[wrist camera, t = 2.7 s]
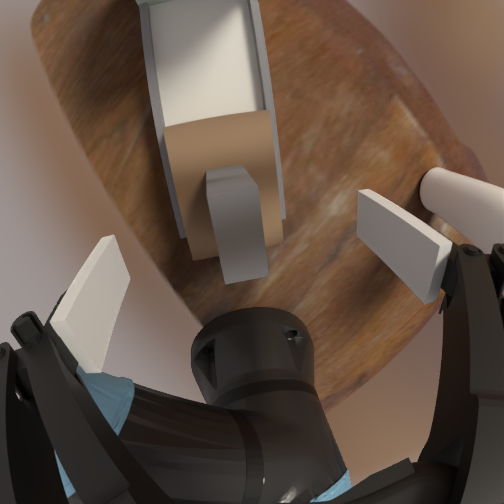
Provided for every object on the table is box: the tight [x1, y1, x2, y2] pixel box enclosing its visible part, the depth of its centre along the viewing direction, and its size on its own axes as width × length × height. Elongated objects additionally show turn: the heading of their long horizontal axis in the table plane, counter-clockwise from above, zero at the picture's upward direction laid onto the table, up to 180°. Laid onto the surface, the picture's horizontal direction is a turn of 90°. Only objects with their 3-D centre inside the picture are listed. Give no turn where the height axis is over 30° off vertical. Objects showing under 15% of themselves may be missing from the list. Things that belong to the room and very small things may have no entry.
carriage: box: [163, 110, 284, 285], centre depth 17 cm, size 10×7×9 cm
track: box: [139, 0, 286, 238], centre depth 19 cm, size 20×9×2 cm, turn 8°
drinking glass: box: [420, 167, 504, 254], centre depth 20 cm, size 7×7×15 cm
